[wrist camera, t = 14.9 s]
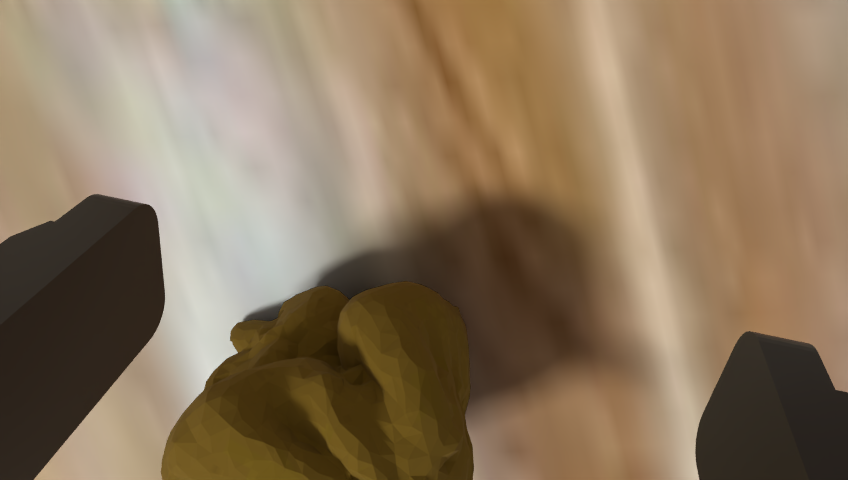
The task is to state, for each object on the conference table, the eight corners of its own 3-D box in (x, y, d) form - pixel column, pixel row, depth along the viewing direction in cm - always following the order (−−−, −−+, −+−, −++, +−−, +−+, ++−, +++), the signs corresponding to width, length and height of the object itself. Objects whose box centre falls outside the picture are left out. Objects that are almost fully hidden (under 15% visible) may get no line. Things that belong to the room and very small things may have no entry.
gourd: (485, 451, 41) (506, 660, 28) (253, 478, 42) (167, 693, 29) (453, 234, 37) (460, 360, 24) (196, 270, 38) (64, 411, 25)
